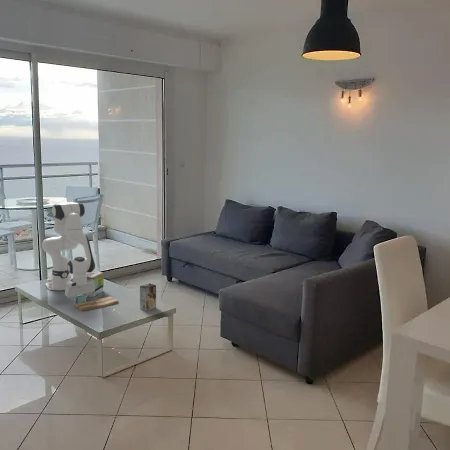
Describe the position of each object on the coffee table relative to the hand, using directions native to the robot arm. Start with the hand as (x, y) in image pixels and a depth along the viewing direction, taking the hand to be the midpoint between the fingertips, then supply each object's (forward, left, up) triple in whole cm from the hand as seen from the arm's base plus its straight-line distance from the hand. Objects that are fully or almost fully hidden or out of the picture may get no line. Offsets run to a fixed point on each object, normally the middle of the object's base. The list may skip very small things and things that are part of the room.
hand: (80, 300), depth 310 cm
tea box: (-13, +16, -2) cm, 21 cm away
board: (+10, +7, -2) cm, 12 cm away
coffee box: (+37, +30, -2) cm, 48 cm away
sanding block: (0, 0, -2) cm, 2 cm away
